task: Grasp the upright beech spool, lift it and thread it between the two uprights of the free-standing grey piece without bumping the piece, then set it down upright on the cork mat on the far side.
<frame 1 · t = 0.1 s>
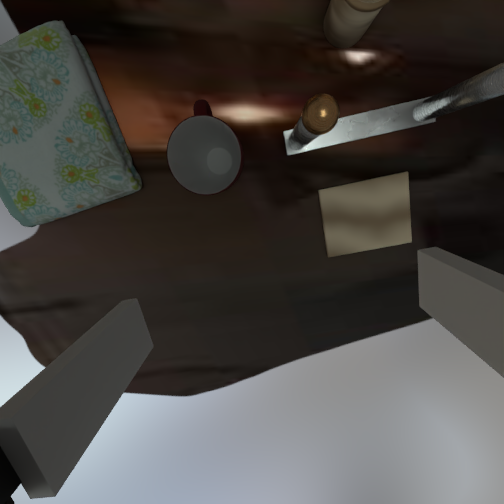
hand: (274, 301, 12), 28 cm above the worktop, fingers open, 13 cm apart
towel: (62, 137, 38), on the worktop
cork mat: (364, 215, 38), on the worktop
mug: (217, 152, 37), on the worktop
grey piece: (355, 128, 35), on the worktop
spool: (345, 23, 32), on the worktop
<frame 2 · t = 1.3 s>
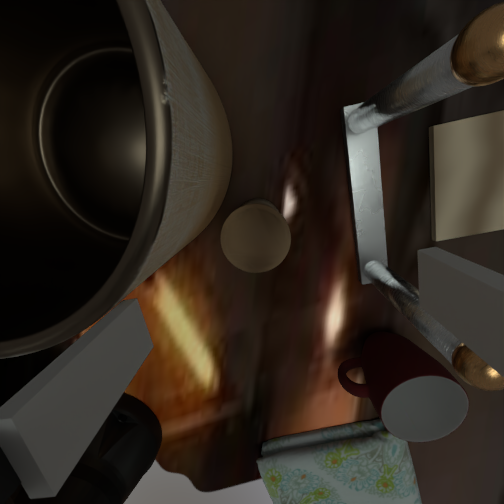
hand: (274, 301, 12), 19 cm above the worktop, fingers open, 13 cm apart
planter: (135, 154, 29), on the worktop, touching gripper
towel: (335, 466, 41), on the worktop
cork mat: (479, 176, 28), on the worktop
mug: (369, 345, 35), on the worktop
grey piece: (363, 199, 29), on the worktop
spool: (257, 221, 30), on the worktop
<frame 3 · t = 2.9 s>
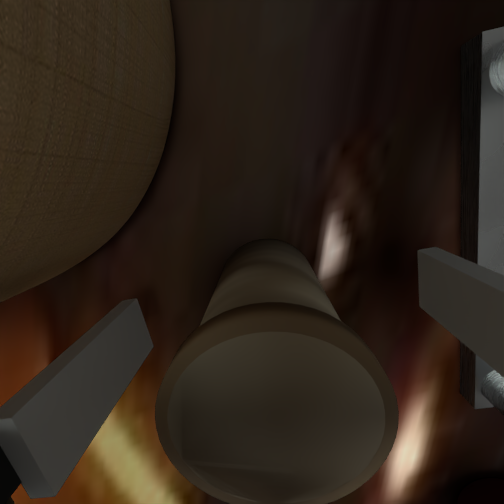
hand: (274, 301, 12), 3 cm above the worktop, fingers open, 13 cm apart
mug: (465, 496, 19), on the worktop
grey piece: (489, 244, 14), on the worktop
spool: (267, 283, 15), on the worktop
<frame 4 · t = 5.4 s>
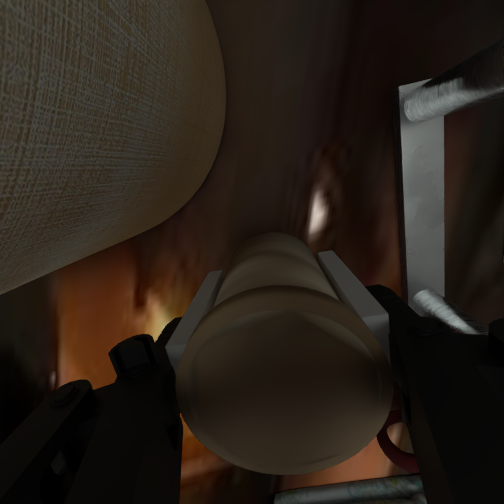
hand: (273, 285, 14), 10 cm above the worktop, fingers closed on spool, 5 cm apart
planter: (97, 100, 22), on the worktop
mug: (411, 390, 28), on the worktop
grey piece: (416, 211, 22), on the worktop
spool: (272, 274, 16), point 9 cm above the worktop, touching gripper
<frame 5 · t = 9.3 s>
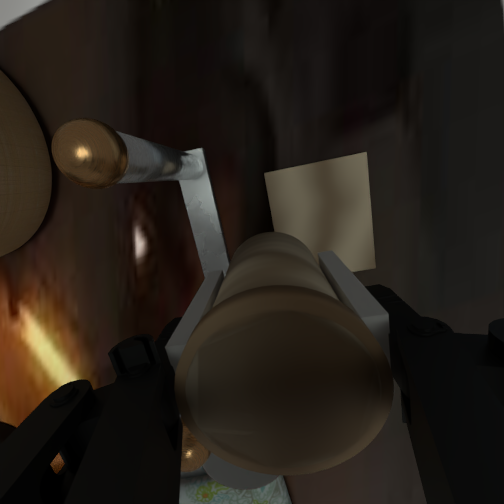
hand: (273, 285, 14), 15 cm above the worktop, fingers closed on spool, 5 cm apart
towel: (224, 496, 41), on the worktop
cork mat: (320, 221, 28), on the worktop
mug: (239, 381, 35), on the worktop
grey piece: (212, 241, 29), on the worktop
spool: (272, 274, 16), point 14 cm above the worktop, touching gripper
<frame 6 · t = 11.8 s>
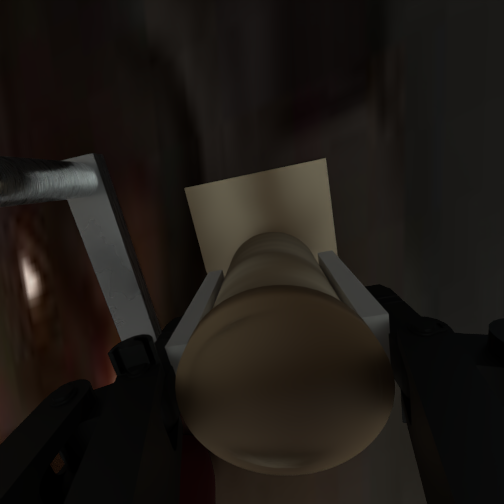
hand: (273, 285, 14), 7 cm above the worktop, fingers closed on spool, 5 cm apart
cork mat: (268, 252, 21), on the worktop
mug: (177, 449, 27), on the worktop
grey piece: (126, 277, 22), on the worktop
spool: (273, 274, 16), point 5 cm above the worktop, touching gripper
when the fingers open (1 cm above the worktop, at t = 13.5 s): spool stays where it is, resting on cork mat.
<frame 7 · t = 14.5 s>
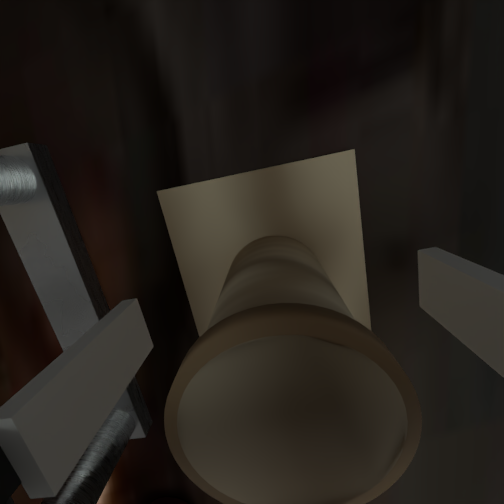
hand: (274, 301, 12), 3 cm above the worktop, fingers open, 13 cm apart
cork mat: (272, 276, 15), on the worktop
grey piece: (85, 307, 17), on the worktop
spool: (274, 281, 15), point 1 cm above the worktop, touching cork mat
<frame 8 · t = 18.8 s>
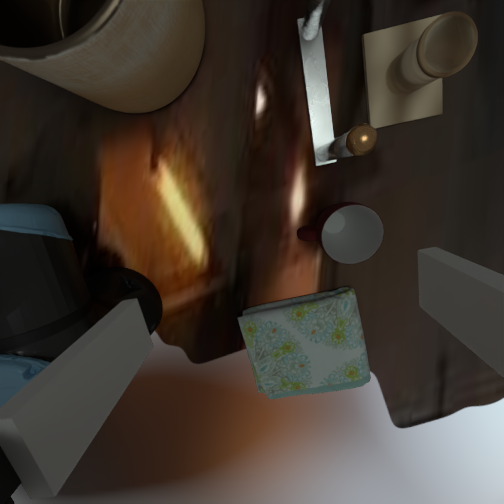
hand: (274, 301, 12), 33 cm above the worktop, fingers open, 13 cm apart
planter: (132, 31, 38), on the worktop
towel: (302, 337, 51), on the worktop
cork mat: (401, 77, 38), on the worktop
mug: (325, 224, 44), on the worktop
grey piece: (316, 97, 39), on the worktop
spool: (405, 74, 37), point 1 cm above the worktop, touching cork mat
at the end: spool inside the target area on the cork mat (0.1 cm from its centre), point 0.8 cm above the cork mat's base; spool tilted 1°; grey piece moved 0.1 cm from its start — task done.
